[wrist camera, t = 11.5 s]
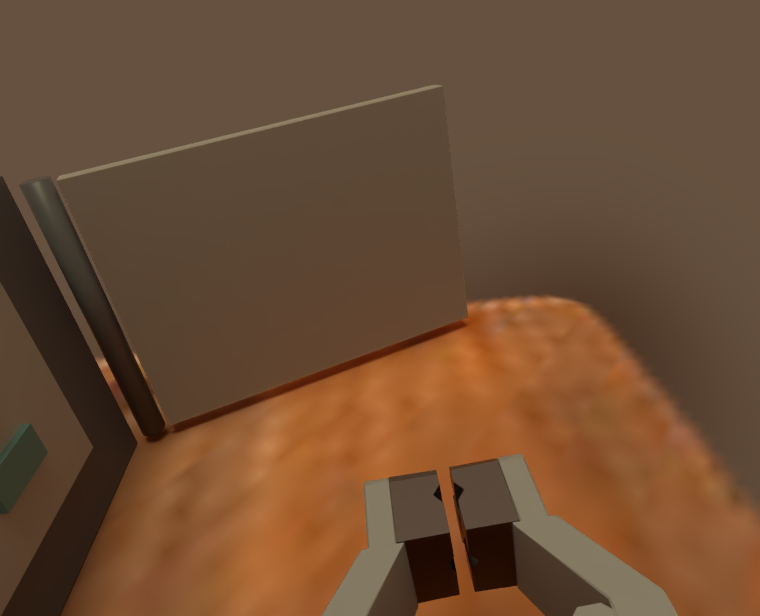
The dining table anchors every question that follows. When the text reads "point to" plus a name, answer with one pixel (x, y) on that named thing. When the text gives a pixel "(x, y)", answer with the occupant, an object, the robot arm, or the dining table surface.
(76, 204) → the side door
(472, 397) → the dining table surface
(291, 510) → the dining table surface
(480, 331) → the dining table surface
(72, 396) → the box
